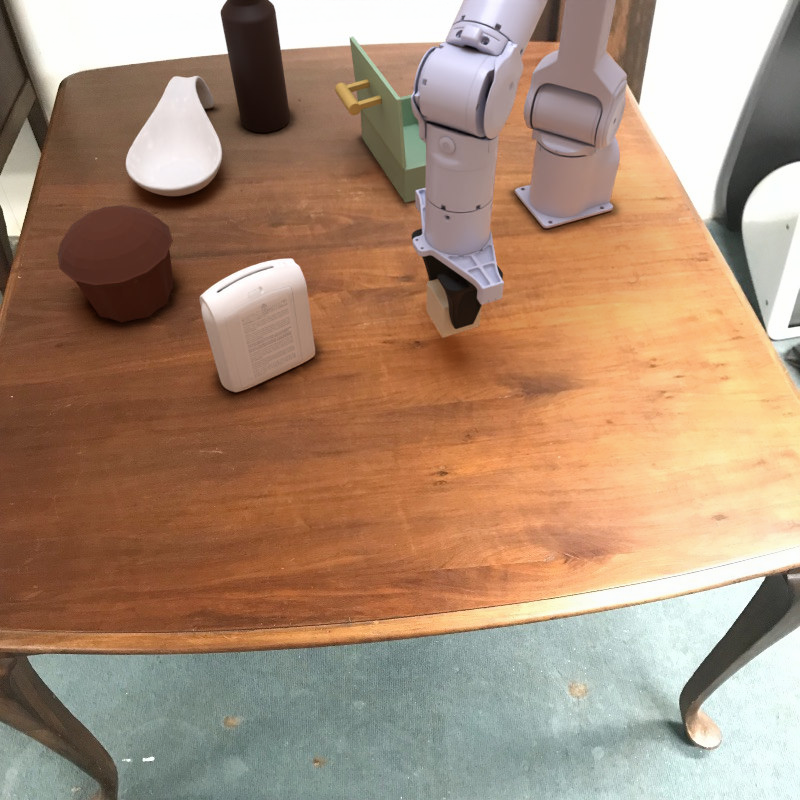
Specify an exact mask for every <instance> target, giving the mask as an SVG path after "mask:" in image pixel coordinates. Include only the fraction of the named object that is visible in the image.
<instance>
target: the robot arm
mask: <svg viewBox="0 0 800 800" xmlns="http://www.w3.org/2000/svg"><path fill="white" fill-rule="evenodd" d="M548 2H549V0H463V1H462V2H461V5H460V7H459V9H458V11H457V14H456V16H455V18H454V20H453V23H452V25H451V26H450V29H449V31H448V33H447V35H446V38H445V41H443V42H441V43H439V44H438V46H435V45H434V46H431V47H430V48H429V49H428V50H426V52H425V53H424V55H423V56H422V58H421V60H420V62H419V63H418V66H417V69H416V72H415V76H414V81H413V88H412V93H411V95H412V96H411V106H412V111H413V114H414V116H415V117H416V119H417V120H418V123H419V137H420V138H421V140H423V142H425V143H426V182H425V188H423V189H419V190H416V191H415V200H414V202H415V203H414V205H415V208H416V209H417V211H418V212H419V213H420V225H421V228H419V229H416V230H415V231H413V232H412V233H411V239H412V247H413V249H414V251H415V253H416V254H417V255H418V256H419V257H421V258H422V261H423V264H424V267H425V269H426V274H427V278H428V281H432V280H435V279H438V280H439V282H440V283H441V285H442V287H443V288H444V290H445V293H446V296H447V299H448V305H449V315H450V319H451V323H452V325H453V327H454V328H455V329H458V328H462V327H465V326H468V325H471V324H473V323H474V321H475V319H476V317H477V315H478V313H479V310H480V308H481V309H482V306H483V305H486V304H490V303H494V302H496V301H499V300H502V299H503V295H504V287H505V281H504V272H503V271H502V269H501V268H500V266H499V265H498V263H497V256H496V251H495V245H494V238H493V233H492V229H491V224H492V223H491V222H492V213H493V204H494V193H495V182H496V172H497V162H498V152H499V151H498V150H499V142H500V141H499V140H500V133H501V132H502V130H503V129H504V127H505V125H506V124H507V121H508V119H509V118H510V115H511V113H512V110H513V107H514V104H515V101H516V96H517V93H518V86H519V84H520V80H521V77H522V75H523V71H524V68H525V67H524V63H523V59H522V58H523V56H524V54H525V51H526V49H527V47H528V45H529V43H530V40H531V38H532V36H533V34H534V32H535V30H536V27H537V26H538V23H539V21H540V18H541V16H542V15H543V13H544V10H545V8H546V6H547V3H548ZM616 2H617V0H565V2H564V10H563V17H562V24H561V31H560V37H559V43H558V49H557V50H554V51H552V52H550V53H548V54H546V55H544V57H542V59H541V60H540V61H539V62H538V64H537V66H536V67H535V68H534V69H533V72H532V75H531V81H530V85H529V88H528V91H527V93H526V97H525V101H524V106H523V119H524V122H525V125H526V127H527V129H531V130H532V133H531V140H535V147H534V155H533V162H532V168H531V169H532V170H531V175H530V178H531V179H530V183H529V184H528V185H523V186H520V187H516V188H515V189H514V193H515V195H516V196H517V197H518V198H519V200H520V201H521V202H522V204H523V205H524V206H525V207H526V208H527V210H528V211H529V212H530V214H531V215H532V216H533V217H534V218H535V219H536V221H537V222H538V223H539V224H540V226H541V227H542V228H544V229H550V228H554V227H557V226H561V225H564V224H568V223H572V222H575V221H579V220H582V219H586V218H589V217H594V216H597V215H600V214H604V213H607V212H611V211H613V210H614V205H613V204H612V203H611V199H612V194H613V191H614V186H615V182H616V179H617V174H618V170H619V165H620V159H621V155H620V153H621V152H620V146H619V142H618V139H617V137H616V135H617V133H618V131H619V128H620V125H621V123H622V120H623V116H624V113H625V109H626V102H627V99H626V93H627V92H626V91H627V86H628V81H627V78H628V75H627V72H625V70H624V69H623V68H622V67H621V66H620V65H619V64H618V63H617V62H616V61H615V60H614V58H613V57H611V56H610V55H609V54H608V52H607V48H608V45H609V44H608V43H609V38H610V32H611V27H612V22H613V17H614V13H615V12H614V11H615V7H616Z"/></svg>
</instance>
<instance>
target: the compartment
mask: <svg viewBox="0 0 800 800" xmlns="http://www.w3.org/2000/svg"><path fill="white" fill-rule="evenodd" d="M411 96H412V94H408V95H402V96H399V97H400V98H401V108H402V120H403V132H404V144H405V156H406V168H402V167H401V165H400V164H399V162H398V161H397V160H396V158H395V157H394V155H393V154H392V152H391V151H390V149H389V148H388V146H387V145H386V144H385V142H384V141H383V139H382V138H381V136H380V135H379V133H378V132H377V131H376V129H375V128H374V126H373V125H372V123H371V122H370V120H369V119H368V118H367V116H366V115H365V113H364V112H363V110H362V109H361V111H360V128H361V138H362V140H363V141H364V143H365V145H366V147H367V148H368V149H369V151H370V153H371V154H372V155H373V157H374V158H375V160H376V162H377V163H378V164H379V166H380V168H381V169H382V171H383V172H384V174H385V175H386V176H387V178H388V180H389V181H390V182H391V184H392V186H393V187H394V188H395V190H396V192H397V193H398V195H399V196H400V197H401V199H402V201H403V202H404V203H405V204H406V203H410V202H415V191H416V190H419V189H423V188H425V182H426V143H425V142H423V140H421V138H420V137H419V123H418V120H417V119H416V117H415V116H414V114H413V111H412V106H411Z"/></svg>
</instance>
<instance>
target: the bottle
mask: <svg viewBox="0 0 800 800" xmlns="http://www.w3.org/2000/svg"><path fill="white" fill-rule="evenodd" d="M219 13H220V18H221V24H222V25H221V26H222V30H223V35H224V40H225V44H226V50H227V55H228V61H229V66H230V71H231V76H232V82H233V86H234V93H235V99H236V103H237V109H238V112H239V113H238V114H239V118H240V123H241V125H242V126H243V127H244V128H245V129H247V130H249V131H251V132H254V133H261V134H262V133H263V134H265V133H272V132H275V131H278V130H280V129H282V128H283V127H285V126H286V125H287V124H288V123H289V120H290V117H291V115H290V109H289V100H288V93H287V85H286V79H285V78H286V77H285V71H284V63H283V56H282V50H281V42H280V35H279V34H280V33H279V28H278V27H279V26H278V20H277V11H276V8H275V5H274V3H273V2H272V1H270V0H226V1H225V3H223V6H222V7H221V9H220V12H219Z"/></svg>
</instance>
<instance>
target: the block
mask: <svg viewBox="0 0 800 800" xmlns="http://www.w3.org/2000/svg"><path fill="white" fill-rule="evenodd" d="M481 312H482V307H481V308H480V310H479V313H478V315H477V317H476V319H475V321H474V323H473V324H471V325H468V326H465V327H462V328H458V329H455V328H454V327H453V325H452V323H451V319H450V315H449V305H448V299H447V296H446V293H445V290H444V288H443V287H442V285H441V283H440V282H439V280H438V279H435V280H432V281H429V280H428V281H426V313H427V315H428V316H429V318H430V320H431V322H432V323H433V324H434V327H435V328H436V330H437V331H438V333H439V335H440V336H441V338H447V337H450V336H454V335H456V334H460V333H463V332H466V331H470V330H472V329H476V328H479V327H480V324H481V316H482V315H481V314H482V313H481Z"/></svg>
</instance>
